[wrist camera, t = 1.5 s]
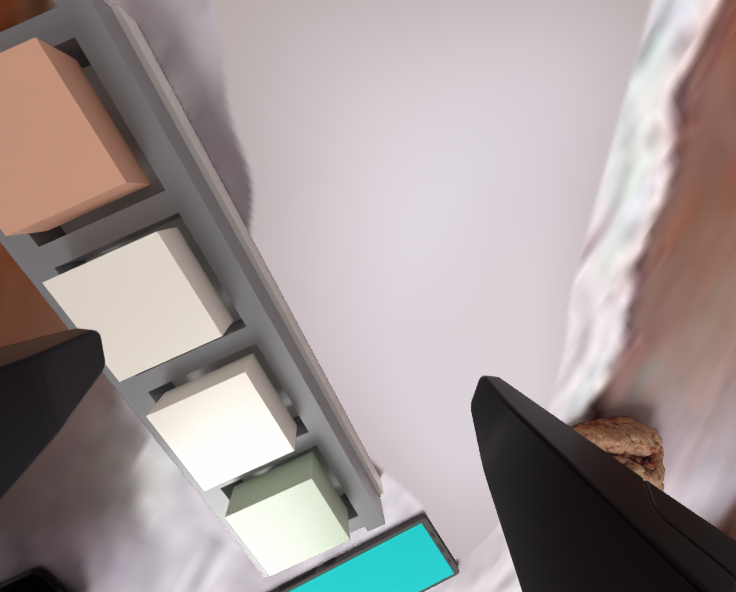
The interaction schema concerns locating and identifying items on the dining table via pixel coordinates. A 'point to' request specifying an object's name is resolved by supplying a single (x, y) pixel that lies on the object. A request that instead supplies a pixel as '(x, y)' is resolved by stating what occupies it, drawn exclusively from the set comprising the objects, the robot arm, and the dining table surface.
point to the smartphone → (385, 564)
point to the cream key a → (143, 302)
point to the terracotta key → (56, 142)
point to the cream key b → (225, 422)
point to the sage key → (289, 514)
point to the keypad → (209, 245)
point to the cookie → (628, 445)
